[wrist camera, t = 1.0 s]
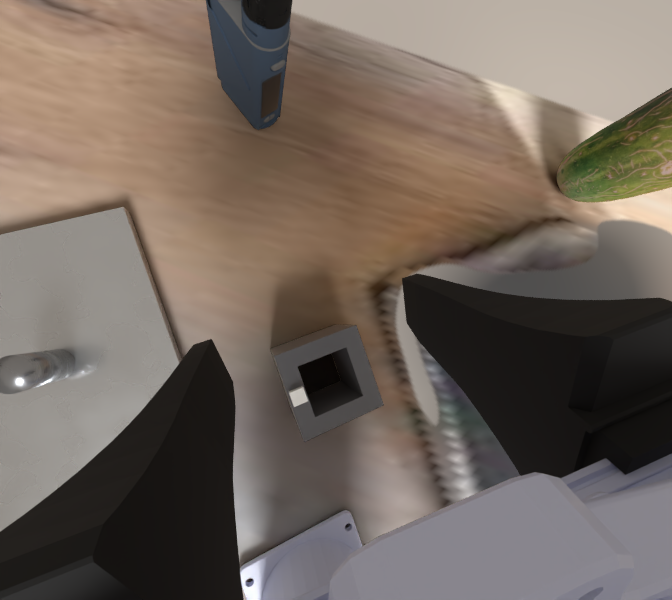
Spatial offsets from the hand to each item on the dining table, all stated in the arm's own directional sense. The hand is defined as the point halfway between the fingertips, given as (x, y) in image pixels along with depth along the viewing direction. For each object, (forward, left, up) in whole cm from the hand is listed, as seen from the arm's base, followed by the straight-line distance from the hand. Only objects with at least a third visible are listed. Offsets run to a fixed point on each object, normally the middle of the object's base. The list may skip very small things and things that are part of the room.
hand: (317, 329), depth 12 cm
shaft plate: (+2, +13, -11) cm, 17 cm away
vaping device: (+16, -3, -11) cm, 20 cm away
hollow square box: (-4, -1, -11) cm, 12 cm away
